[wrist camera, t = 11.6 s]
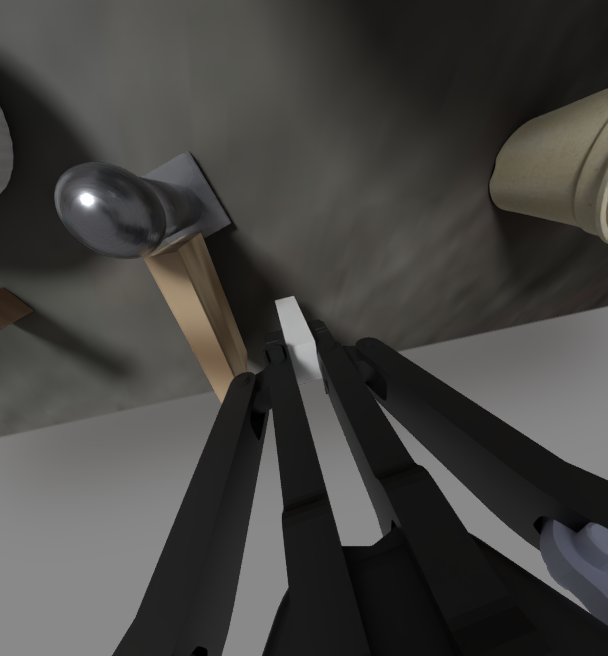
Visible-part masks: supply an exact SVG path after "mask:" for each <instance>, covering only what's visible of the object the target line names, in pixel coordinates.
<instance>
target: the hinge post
mask: <svg viewBox="0 0 608 656" xmlns="http://www.w3.org/2000/svg"><path fill="white" fill-rule="evenodd" d="M54 201H55V207H56V210H57V213H58V215H59V218H60V220H61V221H62V223H63V225H64V226H65V227H66V229H67V230H68V231H69V232H70V233H71V234H72V236H74V237H75V238H76V239H77V240H78V241H79V242H81V243H82V244H83V245H85V246H86V247H88V248H90V249H91V250H93V251H95V252H97V253H100V254H102V255H105V256H108V257H113V258H118V259H134V258H139V257H143V256H145V255H148V254H150V253H151V252H153V251H154V250H155V249H156V248H157V247H158V246H159V245H160V244H161V243H162V241H163V239H165V240H166V241H167V242H168V244H171V243H173V242H174V241H176V240H178V239H179V238H181V237H183V236H187V235H192V234H196V233H201V234H202V236H203V239H204V238H206V237H207V236H209V235H211V234H213V233H215V232H216V231H218V230H220V229H222V228H223V227H225V226H227V225H229V224H231V223H232V222H231V221H230V219H229V217H228V216H227V214H226V212H225V210H224V209H223V207H222V205H221V204H220V202H219V200H218V199H217V197H216V195H215V194H214V192H213V190H212V188H211V187H210V185H209V183H208V182H207V180H206V178H205V177H204V175H203V173H202V172H201V170H200V168H199V167H198V165H197V163H196V161H195V160H194V158H193V156H192V155H191V153H190V152H189V151H188V150H187V151H186V152H184V153H182V154H181V155H179V156H177V157H175V158H174V159H172V160H170V161H169V162H167V163H165V164H163V165H162V166H160V167H158V168H156V169H155V170H153V171H151V172H150V173H148V174H146V175H144V176H143V177H137V176H136V175H135V174H133V173H131V172H129V171H128V170H126V169H123V168H121V167H118V166H115V165H112V164H108V163H102V162H88V163H82V164H79V165H76V166H74V167H71V168H70V169H69V170H67V171H66V172H65V173H64V174H63V175H62V176H61V177H60V178H59V180H58V182H57V185H56V188H55V193H54Z"/></svg>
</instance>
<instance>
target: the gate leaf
mask: <svg viewBox="0 0 608 656" xmlns="http://www.w3.org/2000/svg"><path fill="white" fill-rule="evenodd" d="M144 260H145V262H146V263H147V265H148V267H149V269H150V271H151V273H152V275H153V277H154V278H155V280H156V282H157V284H158V286H159V288H160V290H161V291H162V293H163V295H164V297H165V299H166V301H167V303H168V305H169V306H170V308H171V310H172V312H173V314H174V316H175V318H176V320H177V321H178V323H179V325H180V327H181V329H182V331H183V333H184V334H185V336H186V338H187V340H188V342H189V344H190V346H191V348H192V349H193V351H194V353H195V355H196V357H197V359H198V361H199V363H200V364H201V366H202V368H203V370H204V372H205V374H206V376H207V377H208V379H209V381H210V383H211V385H212V387H213V389H214V391H215V392H216V394H217V396H218V398H219V400H220V402H221V403H223V400H224V398H225V395H226V393H227V390H228V388H229V385H230V383H231V381H232V380H233V378H235V377H236V376H237V375H239V374H241V373H244V372H247V351H246V348H245V346H244V343H243V340H242V338H241V335H240V333H239V330H238V327H237V325H236V322H235V320H234V317H233V314H232V312H231V309H230V307H229V304H228V301H227V299H226V296H225V294H224V291H223V288H222V286H221V283H220V281H219V278H218V275H217V273H216V270H215V268H214V265H213V262H212V260H211V257H210V255H209V252H208V249H207V247H206V244H205V242H204V239H203V236H202V234H201V233H196V234H192V235H187V236H183V237H181V238H179V239H178V240H176V241H174V242H173V243H171V244H169V245H168V246H166V247H164V248H163V249H161V250H159V251H157V252H156V253H154V254H152V255H151V256H148V257H146V258H144Z"/></svg>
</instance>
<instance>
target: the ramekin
mask: <svg viewBox="0 0 608 656" xmlns="http://www.w3.org/2000/svg"><path fill="white" fill-rule="evenodd" d="M12 144H13V143H12V140H11V137H10V132H9V127H8V125H7V122H6V120H5V117H4V114H3V111H2V109H1V108H0V194H1V192H2V191H3V190H4V189H5V188H6V187H7V184H8V182H9V180H10V177H11V172H12V169H13V157H14V155H13V149H12Z"/></svg>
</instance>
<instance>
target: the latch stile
mask: <svg viewBox="0 0 608 656" xmlns="http://www.w3.org/2000/svg"><path fill="white" fill-rule="evenodd" d="M33 311H34V310H32V309H31V308H30V307H28V306H27V305H26V304H24V303H23V302H22V301H20V300H19V299H18V298H17V297H15V296H14V295H13V294H11V293H10V292H9V291H7V290H6V289H5V288H1V289H0V329H2V328H4V327H6V326H8V325H10V324H11V323H13V322H15V321H17V320H19V319H20V318H22V317H24V316H26V315H27V314H29V313H31V312H33Z"/></svg>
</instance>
